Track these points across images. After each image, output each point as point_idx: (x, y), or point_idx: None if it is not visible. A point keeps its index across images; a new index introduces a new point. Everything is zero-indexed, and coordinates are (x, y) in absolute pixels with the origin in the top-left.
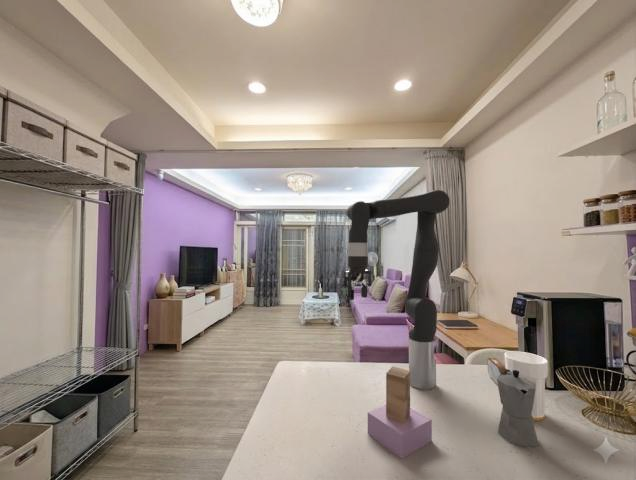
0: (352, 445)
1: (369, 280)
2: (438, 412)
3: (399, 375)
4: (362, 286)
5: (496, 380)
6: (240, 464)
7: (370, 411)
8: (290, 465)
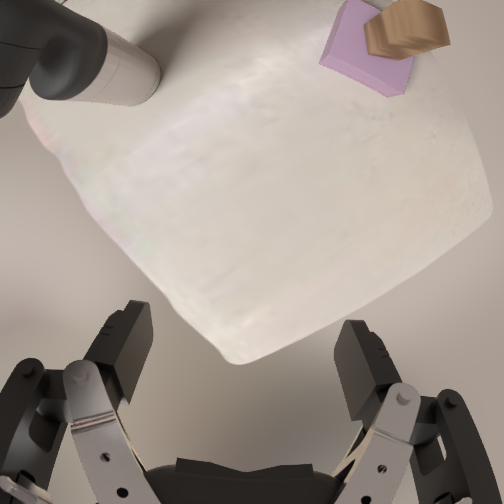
0: (421, 109)
1: (19, 408)
2: (238, 11)
3: (440, 17)
4: (117, 406)
5: (58, 1)
6: (486, 215)
7: (399, 90)
8: (474, 167)
